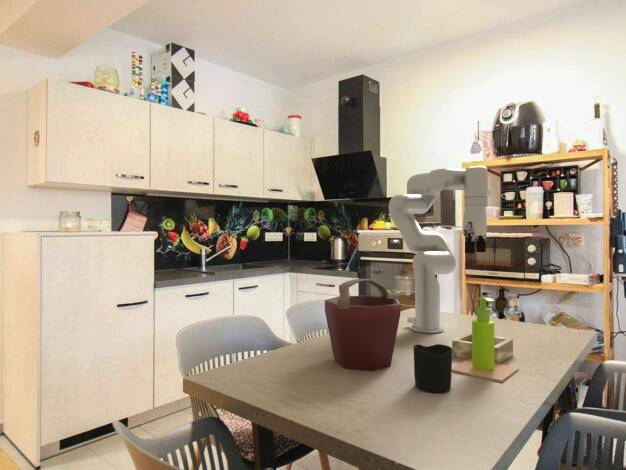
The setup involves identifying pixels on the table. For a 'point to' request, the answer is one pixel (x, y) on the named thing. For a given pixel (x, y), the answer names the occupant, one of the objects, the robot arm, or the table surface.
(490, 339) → the soap dispenser
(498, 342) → the open box
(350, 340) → the bucket
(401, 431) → the table surface
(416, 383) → the pen holder
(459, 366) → the plate
